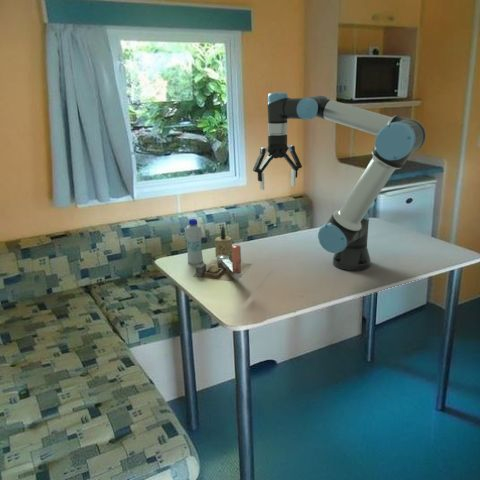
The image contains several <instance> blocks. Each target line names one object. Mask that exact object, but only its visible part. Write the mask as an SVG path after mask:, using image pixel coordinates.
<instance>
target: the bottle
mask: <svg viewBox="0 0 480 480" xmlns="http://www.w3.org/2000/svg"><path fill="white" fill-rule="evenodd" d="M202 234H203V233H202V228H201V225H199V224H198V220H197V219H196V218H190V219H189V220H188V225H187V226H186V227H185V235H184V236H185V239H186V244H187V248H186V250H187V263H189V264H191V265H199V264H200V263H202V262H203V260H204V257H203V249H202V238H203V237H202Z"/></svg>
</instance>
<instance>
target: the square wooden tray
mask: <svg viewBox="0 0 480 480" xmlns="http://www.w3.org/2000/svg"><path fill="white" fill-rule="evenodd" d="M212 264H215V265H217V266H218V268H219V271H218V273H210V272H209V266H210V265H212ZM252 265H253V263H248V262H241V276H243V275H244V274H245V273H246V272H247V270H248V269H249V268H250V267H251V266H252ZM195 272H196V273H195V274H194V275H192V277H194V278H202V279H208V280H210V279H211V280H217V281H226V282H232V283H233V282H234V283H237V282H238V280H239V279H240V278H235V279H234V278H233V276H232V275H231V274H230V273H229V272H228V271H227V270H226V269H225V267H224V266H223V265H222V264H219V263H217V259H213V258H212V259H211V260H210V261H209V262H207V263H202V262H201V263H199V264H197V265H196V266H195Z"/></svg>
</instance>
